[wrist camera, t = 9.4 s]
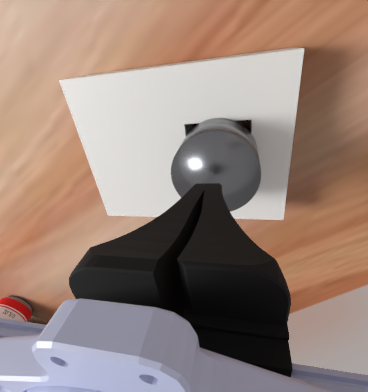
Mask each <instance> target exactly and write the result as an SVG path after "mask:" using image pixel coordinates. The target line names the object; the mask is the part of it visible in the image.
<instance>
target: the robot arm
mask: <svg viewBox="0 0 368 392" xmlns="http://www.w3.org/2000/svg"><path fill="white" fill-rule="evenodd" d="M69 285H70V288H71V290H72V293H73V294H74V296H75V298H76V299H70V300H65V301H64V302H63V303H62V304H61V305H60V307H59V308H58V309H57V311H56V312H55V314H54V315H53V317H52V318H51V319H50V321H49V322H48V324H47V325H42V324H35V323H29V322H23V321H16V320H10V319H3V318H0V392H368V375H362V374H356V373H349V372H343V371H337V370H330V369H324V368H318V367H311V366H305V365H298V364H292V362H291V356H290V350H289V343H288V340H289V332H288V326H287V321H288V316H289V311H290V305H291V298H290V293H289V289H288V286H287V283H286V281H285V278H284V276H283V274H282V271H281V269H280V267H279V265H278V263H277V261H276V260H275V259H274V258H273V257H272V256H270V255H269V254H267V253H266V252H265V251H263V250H262V249H261V248H259V247H258V246H257V245H256V244H255V243H254V242H253V241H252V240H251V239H250V238H249V237H248V236H247V235H246V234H245V233H244V231H243V230H242V229H241V228H240V226H239V225H238V224H237V222H236V221H235V219H234V218H233V216H232V215H231V213H230V211H229V209H228V207H227V205H226V202H225V200H224V197H223V194H222V185H221V184H220V183H202V184H195V185H194V186H193V187H192V188H191V189H190V190H189V191H188V192H187V193H186V194H185V195H184V196H183V197H182V198H181V199H179V200H178V201H177V202H176V203H175V204H174V205H173V206H171V207H170V208H169V209H168V210H167V211H165V212H164V213H163V214H161V215H160V216H158V217H157V218H155V219H154V220H152V221H151V222H149V223H147V224H145V225H144V226H142V227H140V228H138V229H136V230H134V231H132V232H130V233H128V234H126V235H124V236H121V237H119V238H116V239H114V240H111V241H108V242H105V243H102V244H100V245H97V246H93V247H91V248H90V249H89V250H88V251H87V253H86V254H85V255H84V257H83V258H82V259H81V261H80V262H79V263H78V265H77V266H76V268H75V269H74V270H73V272H72V273H71V275H70V277H69Z"/></svg>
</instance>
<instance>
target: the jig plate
mask: <svg viewBox="0 0 368 392" xmlns="http://www.w3.org/2000/svg"><path fill="white" fill-rule="evenodd" d="M303 55H304V48H297V47H293V48H285V49H278V50H271V51H263V52H256V53H248V54H241V55H233V56H226V57H218V58H211V59H203V60H196V61H188V62H181V63H173V64H166V65H159V66H151V67H144V68H136V69H129V70H121V71H114V72H106V73H99V74H91V75H84V76H79V77H74V78H69V79H64V80H59V81H60V84H61V87H62V90H63V92H64V95H65V98H66V101H67V103H68V106H69V109H70V112H71V115H72V117H73V120H74V123H75V126H76V128H77V131H78V134H79V137H80V139H81V142H82V145H83V148H84V150H85V153H86V156H87V159H88V161H89V164H90V167H91V170H92V173H93V175H94V178H95V181H96V184H97V186H98V189H99V192H100V195H101V197H102V200H103V203H104V206H105V208H106V211H107V214H108V216H146V217H158V216H160V215H161V214H163V213H164V212H165V211H167V210H168V209H169V208H170V207H171V206H173V205H174V204H175V203H176V202H177V201H178V200H179V199H181V197H180V196H179V194H178V193H177V191H176V190H175V188H174V185H173V183H172V179H171V165H172V161H173V158H174V156H175V154H176V152H177V151H178V149H179V147H180V146H181V144H182V142H183V141H184V139H185V137H186V136H187V134H188V133H189V131H190V130H191V129H192V128H193V124H195V123H200V122H203V121H205V120H208V119H212V118H227V119H231V120H234V121H238V120H250V132H251V134H252V135H253V137H254V139H255V141H256V144H257V148H258V154H259V161H260V167H261V182H260V185H259V188H258V190H257V192H256V194H255V195H254V197H253V198H252V199H251V200H250V201H249V202H248V203H247V204H245V205H244V206H242V207H241V208H239V209H236V210H234V211H231V212H230V213H231V215H232V216H233V218H234V219H266V220H283V219H284V210H285V202H286V194H287V186H288V178H289V170H290V162H291V153H292V145H293V137H294V129H295V121H296V113H297V104H298V96H299V88H300V80H301V72H302V64H303Z"/></svg>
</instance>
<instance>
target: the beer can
mask: <svg viewBox="0 0 368 392" xmlns="http://www.w3.org/2000/svg"><path fill="white" fill-rule="evenodd" d="M31 316H32V308H31V306H30V305H29V304H28V303H27V302H25V301H24V300H22V299H20V298H18V297H14V296H10V297H6V298H3V299H1V300H0V318H3V319H10V320H16V321H23V322H28V320H29V319H30V318H31Z"/></svg>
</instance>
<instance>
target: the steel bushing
mask: <svg viewBox="0 0 368 392" xmlns="http://www.w3.org/2000/svg"><path fill="white" fill-rule="evenodd" d="M171 179H172V183H173V185H174V188H175V190H176V191H177V193H178V194H179V196H180V197H181V198H182V197H183V196H184V195H185V194H186V193H187V192H188V191H189V190H190V189H191V188H192V187H193V186H194V185H195V184H202V183H220V184H221V185H222V194H223V197H224V200H225V202H226V205H227V207H228V209H229V211H230V212H231V211H234V210H236V209H239V208H241V207H242V206H244V205H245V204H247V203H248V202H249V201H250V200H251V199H252V198H253V197H254V195H255V194H256V192H257V190H258V188H259V185H260V182H261V167H260V161H259V154H258V148H257V144H256V141H255V139H254V137H253V135H252V134H251V132H250V131H249V130H248V129H247V128H246V127H245V126H243V125H242V124H240V123H239V122H237V121H234V120H231V119H227V118H212V119H208V120H205V121H203V122H200V123H199V124H197V125H196V126H195V127H193V128H192V129H191V130H190V131H189V133H188V134H187V136H186V137H185V139H184V141H183V142H182V144H181V146H180V147H179V149H178V151H177V152H176V154H175V156H174V158H173V161H172V165H171Z"/></svg>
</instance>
